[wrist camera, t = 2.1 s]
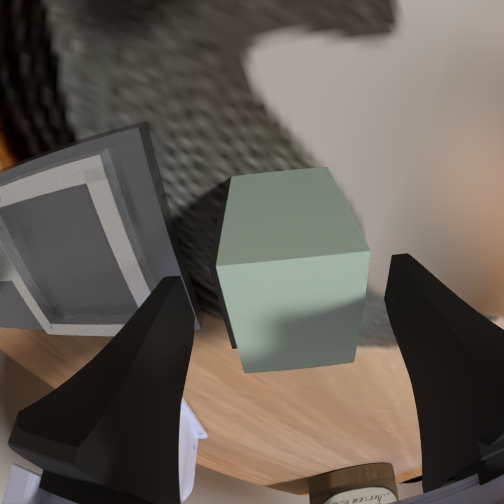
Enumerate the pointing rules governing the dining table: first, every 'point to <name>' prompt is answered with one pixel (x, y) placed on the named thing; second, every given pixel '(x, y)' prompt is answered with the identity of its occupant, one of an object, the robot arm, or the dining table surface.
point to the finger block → (289, 270)
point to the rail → (86, 236)
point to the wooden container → (355, 485)
